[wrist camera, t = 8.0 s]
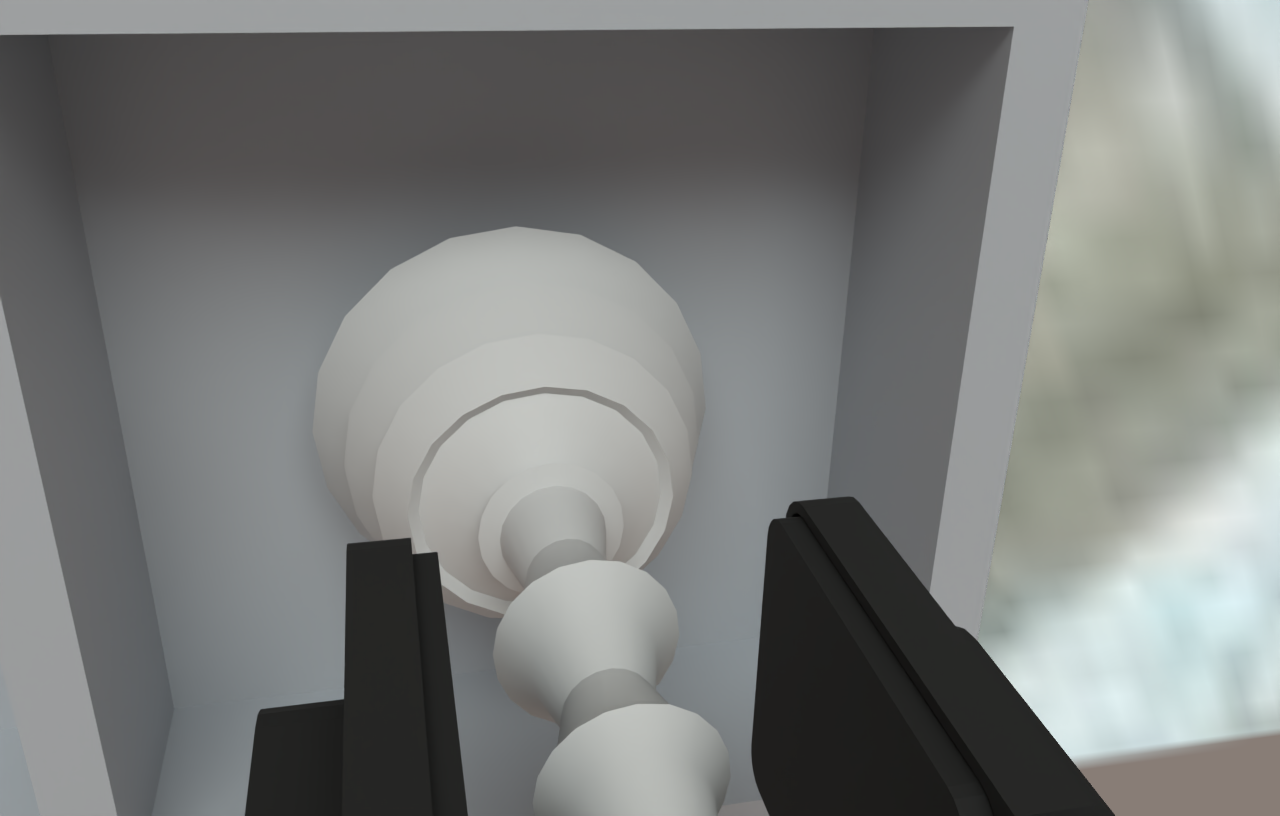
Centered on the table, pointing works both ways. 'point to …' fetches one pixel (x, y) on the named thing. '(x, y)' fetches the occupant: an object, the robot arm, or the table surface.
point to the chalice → (538, 488)
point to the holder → (424, 217)
